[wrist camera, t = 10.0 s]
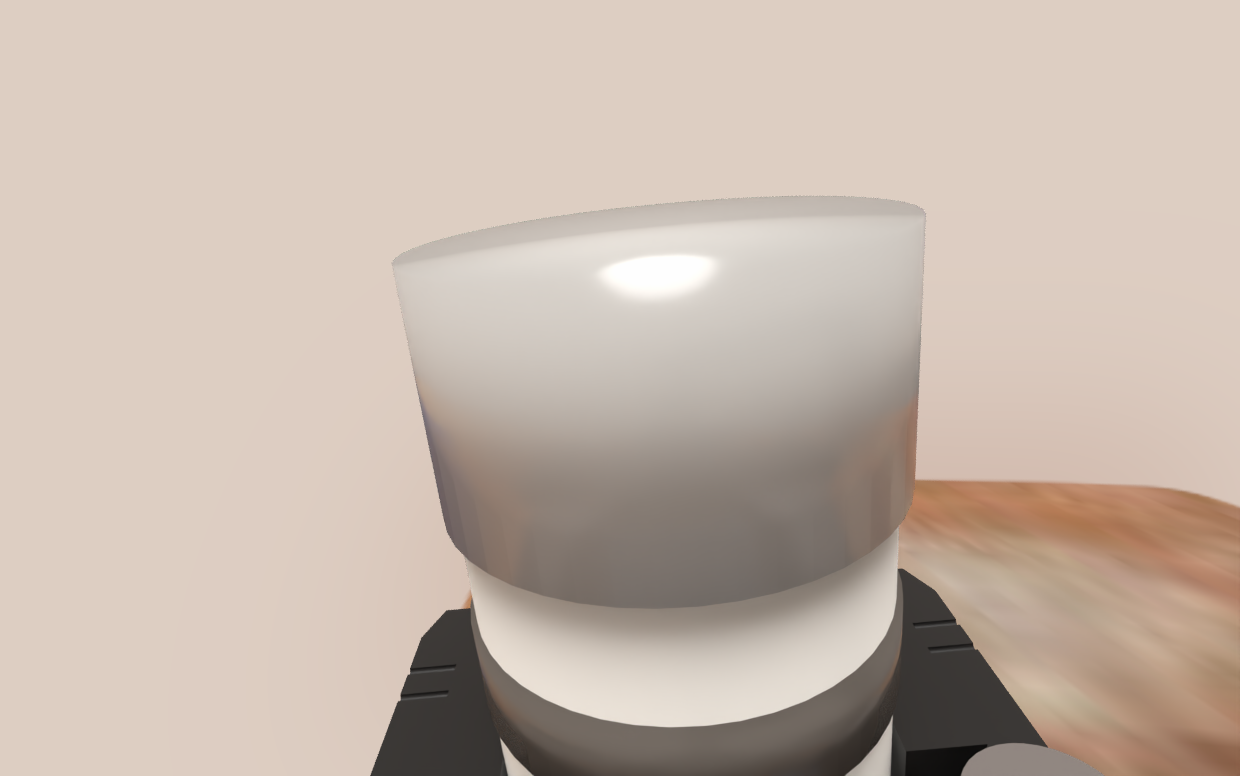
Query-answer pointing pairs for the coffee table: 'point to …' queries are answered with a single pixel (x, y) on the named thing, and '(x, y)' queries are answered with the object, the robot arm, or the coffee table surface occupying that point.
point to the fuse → (679, 477)
